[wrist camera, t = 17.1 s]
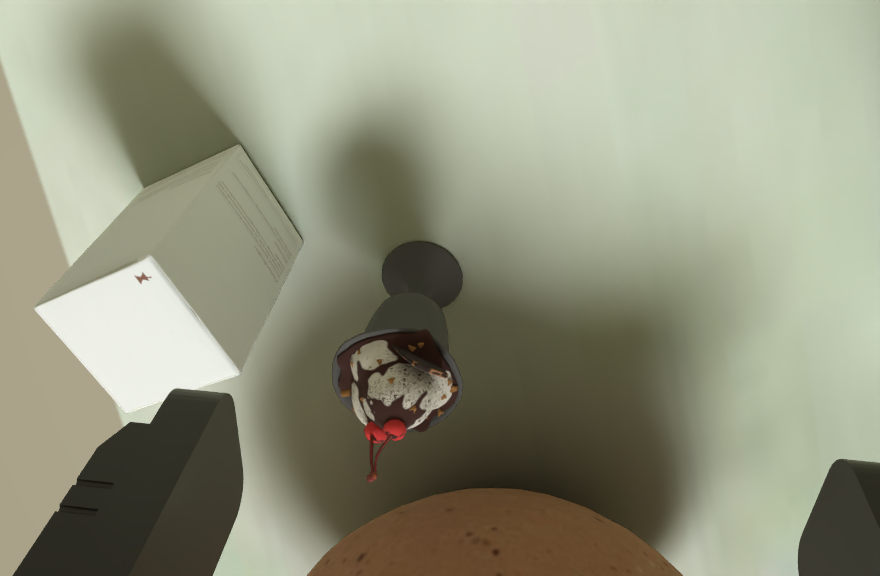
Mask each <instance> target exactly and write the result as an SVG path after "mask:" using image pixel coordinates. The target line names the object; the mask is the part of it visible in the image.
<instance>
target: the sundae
mask: <svg viewBox="0 0 880 576" xmlns="http://www.w3.org/2000/svg"><path fill="white" fill-rule="evenodd" d="M462 277H463V275H462V272H461V269H460V266H459V264H458V262H457V261H456V259H455V258H454V257H453V256H452V255H451V254H450V253H449V252H448V251H447V250H445V249H443V248H441V247H439V246H437V245H435V244H431V243H426V242H412V243H408V244H404V245H401V246H399V247H398V248H396V249H395V250H393V251H392V252H391V253H390V254H389V255H388V257H387V258H386V260H385V262H384V264H383V267H382V281H383V283H384V286H385V288H386V290H387V292H388V293H389V295H390V296H391V297H390V298H388V299H387V300H385V301H384V302H383V303H382V304H381V306H380V307H379V308H378V310H377V311H376V312H375V314H374V316H373V317H372V319H371V321H370V323H369V325H368V327H367V328H366V330H365V332H364V333H362V334H359V335H357V336H355V337H352V338H351V339H349V340H347V341H345V342H344V343H343V344H342V345H341V346H340V347H339V349H338V351H337V353H336V354H335V357H334V361H333V366H332V380H333V386H334V389H335V391H336V394H337V396H338V397H339V399H340V400H341V402H342V403H343V404H344V405H345V406H346V407H347V408H348V409H349V410H351V411H352V412H354V413H355V414H356V415H357V417H358V418H359V420H360V421H361V422H362V423H363V424H364V425H366V426H365V429H364V432H365V435H366V438H367V439H368V440H369V441H370V464H371V473H370V474H369V475H368V476H367V481H368V482H372V481H373V480H375V479H376V478H377V476H378V475H377V470H376V467H377V459H378V456H379V454H380V452H381V450H382V449H383V448H384V446H385V445H386V444H387V443H388V442H389V441H390V439H392V440H394V441H396V440H400V439H403V437H404V436H405V433H406V432H412V431H419V432H423V431H426V430H427V429H428V428H430V427H432V426H434V425H436V424H437V423H439V422H441V421H442V420H443V419H444V418H446V417H447V416H448V415H449V414H450V413H451V412H452V411H453V410H454V408H455V407H456V406H457V404H458V403H459V401H460V399H461V397H462V390H463V385H462V378H461V375H460V372H459V369H458V367H457V365H456V363H455V360H454V359H453V358H452V356H451V355H450V353H449V346H448V330H447V325H446V321H445V317H444V314H443V312H442V310H441V308H443V307H445V306H447V305H448V304H450V303H451V302H452V301H454V300H455V298H456V297H457V295H458V294H459V292H460V290H461V287H462ZM384 441H385V442H384ZM383 442H384V443H383ZM373 443H383V444H382V446H381V447H380V449H379V450H378V452H377V454H376V457H375V463H374V467H373Z"/></svg>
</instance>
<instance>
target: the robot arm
mask: <svg viewBox="0 0 880 576" xmlns="http://www.w3.org/2000/svg"><path fill="white" fill-rule="evenodd" d="M242 491H243V466H242V459H241V451H240V444H239V436H238V428H237V421H236V413H235V406H234V401H233V398H232V396H231V395H230V394H228V393H219V392H209V391H199V390H190V389H180V388H176V389H173V390H172V391H171V392H170V393H169V394H168V396H167V397H166V399H165V400H164V402H163V404H162V405H161V407H160V408H159V410H158V412H157V413H156V415H155V417H154V418H153V420H152V422H151V423H150V424H145V423H135V422H130V423H128V424H127V425H126V426H125V427H123V428H122V429H121V430H119V431H118V432H117V433H116V434H114V435H113V436H112V437H110V438H109V439H108V440H106V441H105V442H104V443H103V444H101V445H100V446H99V447H98V448H97V449H96V451H95V452H94V454H93V455H92V457H91V458H90V460H89V461H88V463H87V464H86V466H85V467H84V469H83V470H82V472H81V473H80V475H79V476H78V478H77V483H76V485H72V487H71V488H70V490H69V491H68V493H67V494H66V496H65V497H64V499H63V500H62V502H61V503H60V509H59V511H58V512H56V511H55V513H54V514H53V516H52V517H51V519H50V520H49V522H48V523H47V525H46V526H45V528H44V529H43V531H42V532H41V534H40V535H39V537H38V538H37V540H36V541H35V543H34V544H33V546H32V547H31V549H30V550H29V552H28V553H27V555H26V556H25V558H24V559H23V561H22V563H21V564H20V565H19V567H18V569H17V570H16V571H15V573H14V575H13V576H213V573H214V571H215V568H216V566H217V563H218V561H219V559H220V556H221V554H222V551H223V549H224V546H225V544H226V542H227V539H228V537H229V534H230V532H231V530H232V527H233V525H234V522H235V520H236V517H237V514H238V511H239V507H240V503H241V498H242ZM798 571H799V576H880V463H876V462H866V461H856V460H847V459H839V460H836V461H835V462H834V463H833V464H832V466H831V468H830V470H829V472H828V474H827V476H826V479H825V481H824V484H823V486H822V488H821V491H820V493H819V495H818V498H817V500H816V502H815V505H814V507H813V509H812V512H811V514H810V517H809V519H808V521H807V524H806V526H805V528H804V531H803V533H802V536H801V539H800V543H799V549H798Z"/></svg>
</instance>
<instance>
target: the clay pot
mask: <svg viewBox="0 0 880 576" xmlns="http://www.w3.org/2000/svg"><path fill="white" fill-rule="evenodd" d="M307 576H683V575H682V574H681V573H680V572H679V571H678V570H677V569H676V568H675V567H674V566H672V565H671V564H670V563H669V562H668V561H667V560H666V559H665V558H664V557H663V556H662V555H661V554H660V553H659V552H658V551H656V550H655V549H654V548H652V547H651V546H650V545H648V544H647V543H646V542H644V541H643V540H642V539H640V538H639V537H637V536H636V535H635V534H633V533H632V532H631V531H629V530H628V529H626V528H625V527H623V526H621V525H619V524H617V523H615V522H613V521H611V520H609V519H607V518H606V517H604V516H602V515H600V514H598V513H596V512H594V511H592V510H590V509H588V508H587V507H584V506H581V505H578V504H575V503H572V502H569V501H566V500H563V499H560V498H557V497H554V496H551V495H548V494H543V493H538V492H532V491H527V490H521V489H506V488H472V489H463V490H458V491H452V492H447V493H441V494H436V495H432V496H429V497H426V498H423V499H420V500H417V501H415V502H412V503H409V504H406V505H403V506H400V507H397V508H395V509H393V510H391V511H389V512H387V513H385V514H383V515H381V516H379V517H377V518H375V519H373V520H371V521H370V522H368V523H366V524H365V525H363V526H361V527H360V528H358V529H356V530H355V531H353V532H351V533H350V534H348V535H347V536H345V537H344V538H343V539H342V540H341V541H340V542H339V543H337V544H336V545H335V546H334V547H333V548H332V549H331V550H330V551H328V552H327V553H326V554H325V555H324V556H323V557H322V559H321V560H320V561H319V562H318V563H317V564H316V565H315V567H314V568H313V569H312V570H311V571H310V572H309V574H308V575H307Z"/></svg>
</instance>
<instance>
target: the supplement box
mask: <svg viewBox="0 0 880 576" xmlns="http://www.w3.org/2000/svg"><path fill="white" fill-rule="evenodd" d="M302 245H303V241H302V239H301V238H300V236H299V235H298V233H297V231H296V230H295V228H294V227H293V225H292V224H291V222H290V221H289V219H288V217H287V216H286V214H285V213H284V211H283V210H282V208H281V207H280V205H279V204H278V202H277V201H276V199H275V198H274V196H273V194H272V193H271V191H270V190H269V188H268V187H267V185H266V184H265V182H264V181H263V179H262V178H261V176H260V174H259V173H258V171H257V170H256V168H255V167H254V165H253V164H252V162H251V161H250V159H249V158H248V156H247V154H246V153H245V151H244V150H243V148H242V147H241V145H239V144H238V145H235V146H233V147H231V148H229V149H227V150H225V151H222V152H220V153H218V154H216V155H214V156H212V157H210V158H208V159H205V160H203V161H201V162H199V163H197V164H195V165H193V166H190V167H188V168H186V169H184V170H182V171H180V172H178V173H176V174H173V175H171V176H169V177H167V178H165V179H162V180H160V181H158V182H156V183H154V184H152V185H150V186H148V187H145V188H144V189H143V190H142V191H141V192H140V193H139V194H138V195H137V196H136V197H135V198H134V199H133V200H132V202H131V203H130V204H129V205H128V206H127V207H126V208H125V209H124V210H123V211H122V212H121V213H120V214H119V216H118V217H117V218H116V219H115V220H114V221H113V222H112V223H111V224H110V225H109V226H108V227H107V229H106V230H105V231H104V232H103V233H102V234H101V235H100V236H99V237H98V238H97V239H96V240H95V241H94V242H93V243H92V245H91V246H90V247H89V248H88V249H87V250H86V251H85V252H84V253H83V254H82V255H81V256H80V257H79V258H78V260H77V261H76V262H75V263H74V264H73V265H72V266H71V267H70V268H69V269H68V271H67V272H66V273H65V274H64V275H63V276H62V277H61V278H60V279H59V280H58V281H57V282H56V283H55V285H54V286H53V287H52V288H51V289H50V290H49V291H48V292H47V293H46V294H45V295H44V297H42V299H41V300H40V301H39V302H38V303H37V304H36V305H35V307H34V309H35V310H36V312H37V313H38V314H39V315H40V316H41V317H42V319H43V320H44V321H45V322H46V323H47V324H48V325H49V326H50V328H51V329H52V330H53V331H54V332H55V333H56V334H57V335H58V336H59V338H60V339H61V340H62V341H63V342H64V343H65V344H66V346H67V347H68V348H69V349H70V350H71V351H72V352H73V354H74V355H75V356H76V357H77V358H78V359H79V361H80V362H81V363H82V364H83V365H84V366H85V367H86V368H87V370H88V371H89V372H90V373H91V374H92V375H93V376H94V378H95V379H96V380H97V381H98V382H99V383H100V384H101V386H102V387H103V388H104V389H105V390H106V391H107V393H108V394H109V395H110V396H111V397H112V398H113V399H114V401H115V402H116V403H117V404H118V405H119V406H120V408H121V409H122V410H123V411H124V412H125V413H127V414H128V413H130V412H133V411H136V410H139V409H141V408H144V407H147V406H150V405H153V404H155V403H158V402H161V401H164V400H165V399H166V397H167V396H168V394H169V393H170V392H171V391H172V390H173V389H176V388H180V389H190V390H196V389H199V388H202V387H205V386H208V385H211V384H214V383H217V382H220V381H223V380H226V379H229V378H233V377H236V376H239V375H240V374H241V372H242V369H243V367H244V365H245V362H246V360H247V358H248V356H249V354H250V352H251V350H252V347H253V345H254V343H255V341H256V339H257V337H258V335H259V333H260V331H261V329H262V327H263V325H264V323H265V321H266V319H267V317H268V315H269V313H270V311H271V309H272V307H273V305H274V303H275V301H276V299H277V297H278V295H279V293H280V291H281V288H282V286H283V284H284V282H285V280H286V278H287V276H288V274H289V272H290V270H291V268H292V266H293V263H294V261H295V259H296V257H297V255H298V253H299V251H300V249H301V247H302Z"/></svg>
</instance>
